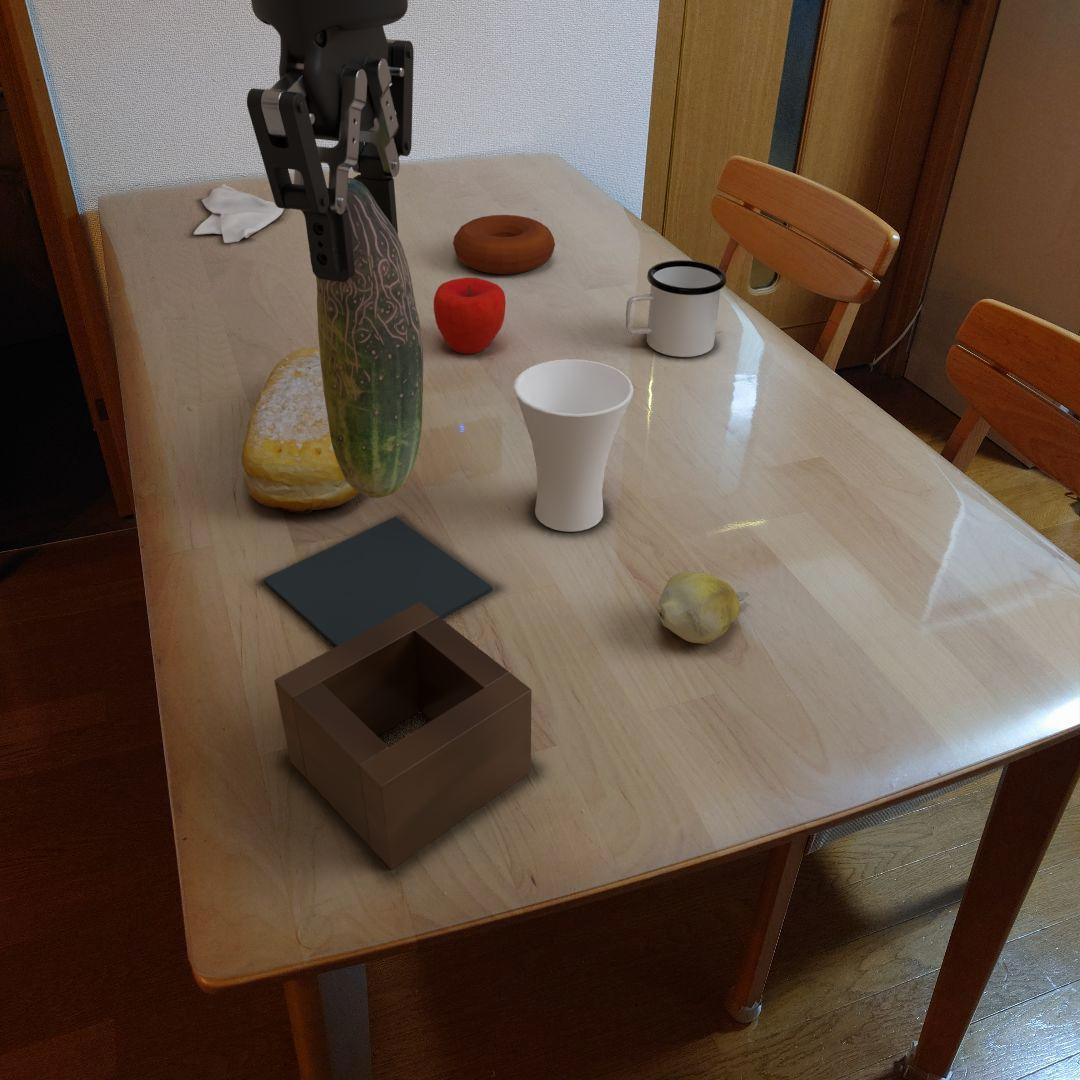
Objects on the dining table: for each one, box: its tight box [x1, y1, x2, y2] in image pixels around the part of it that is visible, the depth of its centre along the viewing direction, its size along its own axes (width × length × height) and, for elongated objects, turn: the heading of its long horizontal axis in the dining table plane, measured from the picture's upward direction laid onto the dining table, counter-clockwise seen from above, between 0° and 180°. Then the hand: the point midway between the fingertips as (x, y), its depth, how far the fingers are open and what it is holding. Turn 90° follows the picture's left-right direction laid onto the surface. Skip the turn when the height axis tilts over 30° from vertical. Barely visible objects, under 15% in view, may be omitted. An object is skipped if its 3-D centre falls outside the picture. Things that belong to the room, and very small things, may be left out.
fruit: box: [655, 571, 751, 645], centre depth 82 cm, size 6×6×10 cm
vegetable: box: [315, 177, 424, 499], centre depth 60 cm, size 6×6×20 cm
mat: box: [263, 516, 493, 648], centre depth 87 cm, size 14×14×1 cm
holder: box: [273, 602, 532, 870], centre depth 68 cm, size 12×12×8 cm
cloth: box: [193, 183, 285, 244], centre depth 162 cm, size 26×14×2 cm, turn 10°
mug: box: [625, 259, 727, 358], centre depth 123 cm, size 12×10×9 cm
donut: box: [452, 214, 556, 275], centre depth 147 cm, size 15×15×5 cm
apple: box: [433, 277, 507, 355], centre depth 122 cm, size 9×9×8 cm
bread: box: [241, 346, 360, 514], centre depth 102 cm, size 13×26×8 cm, turn 4°
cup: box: [513, 358, 634, 533], centre depth 92 cm, size 10×10×14 cm
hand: (357, 258), depth 57 cm, fingers closed on vegetable, 5 cm apart
